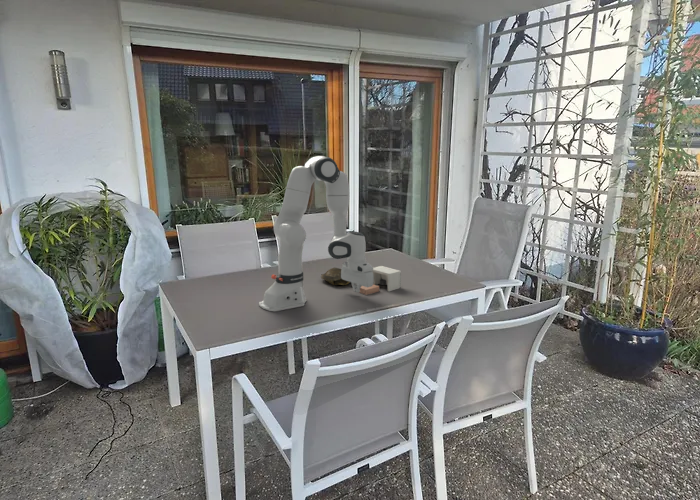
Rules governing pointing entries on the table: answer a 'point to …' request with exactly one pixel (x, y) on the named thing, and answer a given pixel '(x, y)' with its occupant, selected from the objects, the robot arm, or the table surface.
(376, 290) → the tan rectangular block
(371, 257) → the table surface
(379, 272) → the white storage bin
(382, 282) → the stop blocks
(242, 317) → the table surface
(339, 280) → the turtle shell
